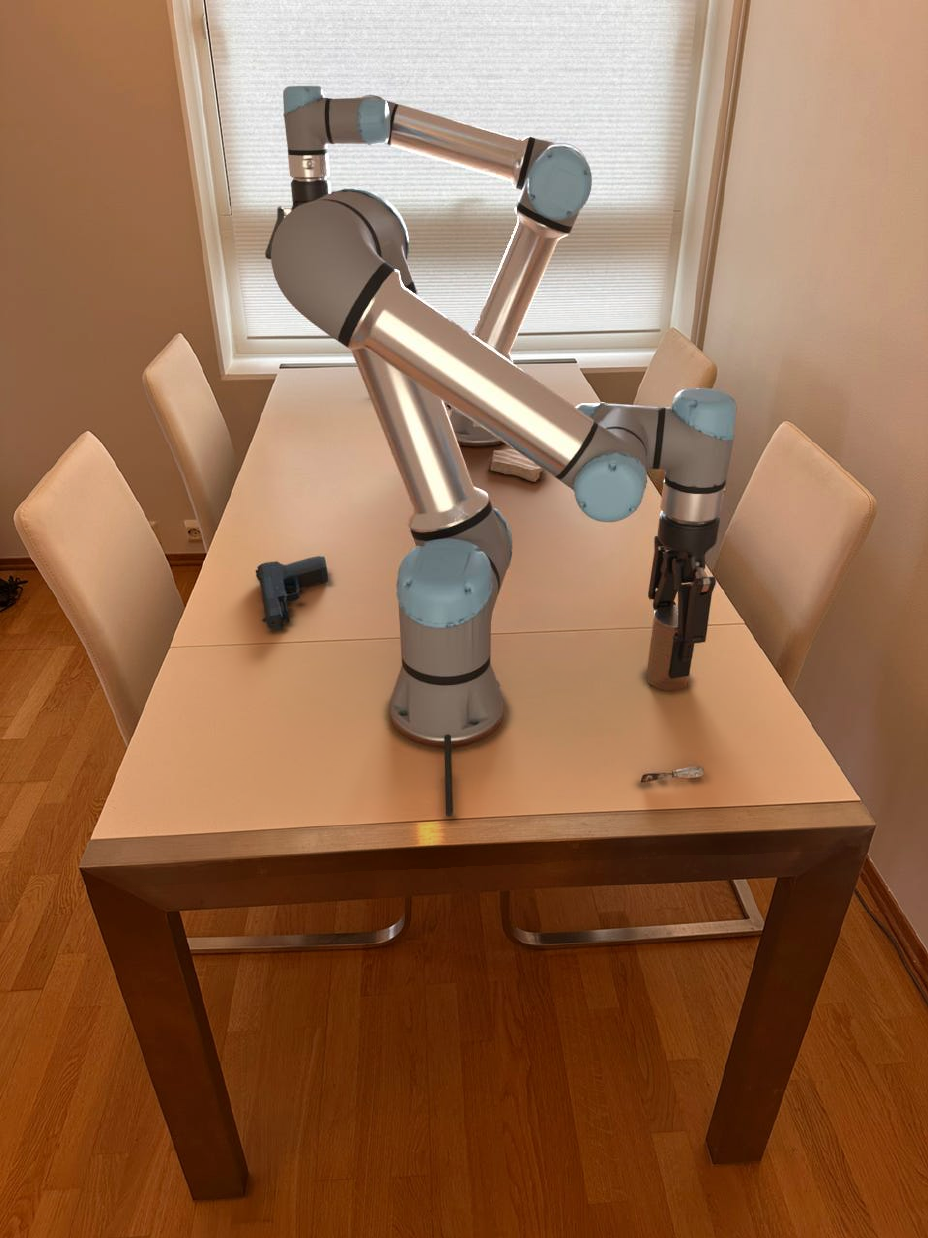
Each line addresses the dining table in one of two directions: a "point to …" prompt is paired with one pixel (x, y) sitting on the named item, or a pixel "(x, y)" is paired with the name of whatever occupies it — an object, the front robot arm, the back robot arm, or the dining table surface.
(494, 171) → the back robot arm
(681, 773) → the putty knife
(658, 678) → the canister
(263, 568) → the handgun
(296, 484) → the dining table surface
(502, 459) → the beige ridged slab
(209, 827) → the dining table surface
